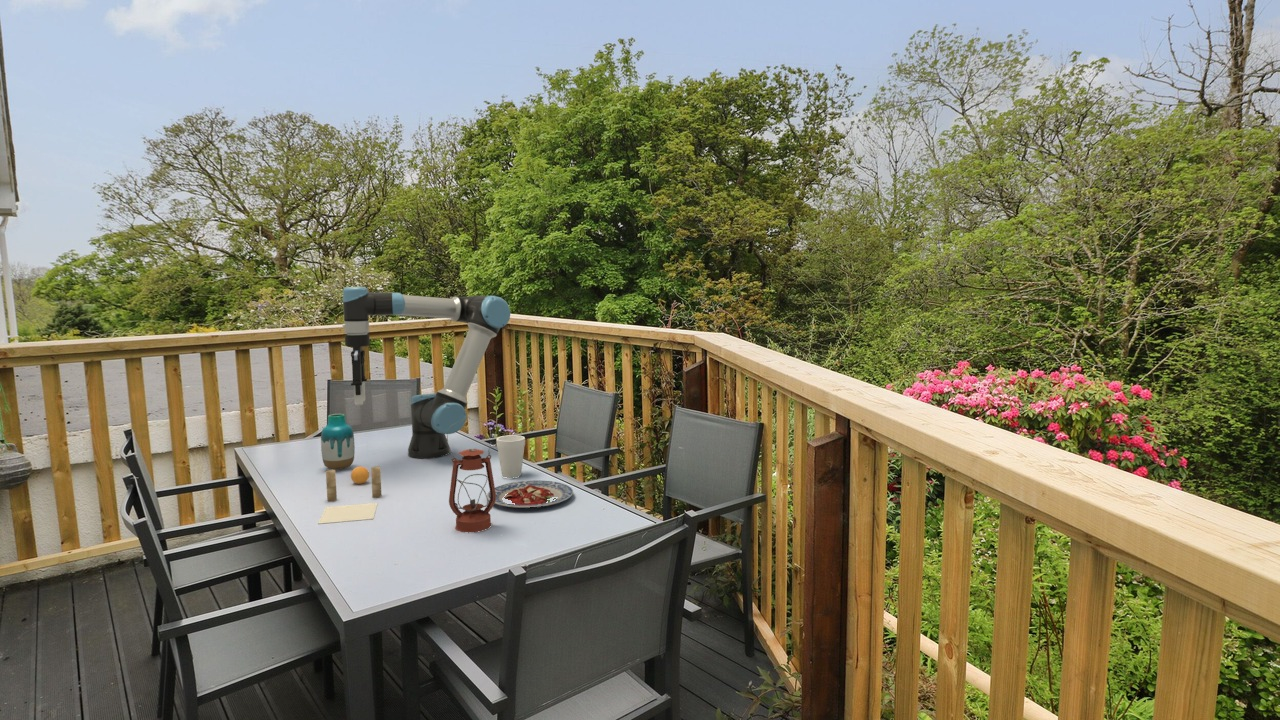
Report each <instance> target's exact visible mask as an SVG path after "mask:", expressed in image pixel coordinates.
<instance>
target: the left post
mask: <svg viewBox="0 0 1280 720" xmlns="http://www.w3.org/2000/svg"><path fill="white" fill-rule="evenodd" d="M336 473H337V472H336V470H332V469H328V470H326V471H325V478H326V479H325V482H326V496H327V497H326V499H327V500H326V501H327V502H336V501H337V500H338V496H337V495H338V494H337V493H338V492H337V475H336Z"/></svg>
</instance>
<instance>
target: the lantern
mask: <svg viewBox="0 0 1280 720" xmlns="http://www.w3.org/2000/svg"><path fill="white" fill-rule="evenodd" d="M464 419H465V418H464ZM464 419H463V420H464ZM468 419H469V420H471V421H476V422H478V420H477V419H476V420H475V419H473V418H470V417H468ZM463 420H462V421H463ZM460 422H461V421H460ZM480 422H481V423H485V424H487V425H488V427H489V428H491V427H490V424H489V423H488V422H485V421H482V420H479V423H480ZM457 423H458V422H457ZM455 424H456V423H455ZM453 425H454V424H453ZM451 426H452V425H451ZM451 426H450V427H451ZM449 429H450V428H449ZM448 431H449V430H448ZM491 431H492V430H491V429H489V435H490V437H492V433H491ZM448 435H449V434H448V433H447V434H446V438H447V442H448V446H449V448H450V454H451V456H452V458H451V462H452V463H453V464H452V472H451V479H450V489H449V496H448V504H449V507H450V509H451V511H452V513H453V514H455V515H456V517H455V527H454V529H455V530H456V531H457V532H460V533H465V532H468V534H469V532H474V533H479V532H478V531H480V532H483V531H482V530H484V531H486V530H485V529H487V530H488V528H489V527H490V526H491V524H492V522H491V514H490V513H489V512H491V510H492V508H493V507H494V505H495V501H496V492H495V486H496V485H495V481H494V474H493V469H492V463H491V459H492V455H491V454H490V449H491V446H492V443H490V445H489V447H488V451H487V452H488V454H487V455H486V457H482V456H481V455H483V454H484V453H485V451H484V450H483V449H476V448H469V449H465V450H462V451H459V452H458V455H460V456H462V458H461V459H457V458H456V457H455V456H454V455H453V452H452V450H451V447H450V444H449V440H448ZM484 464H485V465H484ZM484 468H486V471H485V472H486V474H483V473H476V474H474V473H473V474H470V475H468V476H467V477H465V478H464V479H463V480H460V479H458V474H459V469H460V470H462V471H478V470H482V469H484ZM473 476H483V477H486V478H487V479H486V480H485V483H484V485H483V486H481V485H480V484H478V483H473V482H467V481H466V480H467V479H468V478H469V477H473ZM457 482H459V483H460V484H461V485H460V487H459V490H458V494H457V503H456V499H455V498H456V497H455V496H456V488H457ZM487 483H488V487H489V491H490V501H489V500H488V498H487V493H486V491H485V489H484V488H485V486H486V484H487ZM464 484H469V485H475V486H478V487H479V488H480V489H481V491H480V493H479V496H478V499H477V502H476V499H475V498H474V499H472V498H471V497H470V494H469V493H468V490H467V487H466V486H465V485H464ZM462 487H463V488H464V489H465V491H466V494H467V497H468V498H469V503H467V504H465V505H464V504H463V506H461V505H460V503H459V496H460V493H461V492H460V491H461V489H462ZM483 492H484V495H485V498H486V501H487V502H486V505H484V504H482V503H479V501H480V498H481V496H482V495H481V494H482V493H483ZM483 508H485V509H483ZM460 509H461V510H463V512H462V511H461V510H460ZM491 527H492V526H491ZM491 527H490V528H491ZM490 528H489V529H490Z"/></svg>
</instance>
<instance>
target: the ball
mask: <svg viewBox="0 0 1280 720" xmlns="http://www.w3.org/2000/svg"><path fill="white" fill-rule="evenodd" d="M369 477H370V471H369V470H368V469H367V468H366V467H364V466H356V467H355V468H353V470H352V471H351V473H350V479H351V481H352V482H353V483H355V484H359V485H360V484H364V483H366V482H367V481H369V479H370V478H369Z"/></svg>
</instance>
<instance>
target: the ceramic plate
mask: <svg viewBox="0 0 1280 720" xmlns="http://www.w3.org/2000/svg"><path fill="white" fill-rule="evenodd" d="M495 492H496V501H495V503H494V505H498V506H502V507H509V508H518V509H531V508H530V507H537V508H542V507H541V506H543V507H545V506H546V507H548V506H552V505H556V504H560V503H562V502H565V501H566V500H568V499H570V498H571V497H572V496H573V494H574V489H573V488H572V487H571V486H569V485H567V484H566V483H562V482H557V481H552V480H543V479H542V480H541V479H540V480H536V479H535V480H531V479H530V480H521V481H514V482H508V483H504V484H500V485H498V486H496V487H495ZM507 493H508V494H507ZM505 494H507V495H506V496H505ZM486 495H487V498H488V502H489V501H490V490H489V491H487V493H486ZM504 496H505V497H504ZM503 497H504V498H505V499H508V500H511V501H512V503H515V505H514V504H507V503H505V502H503V500H502V498H503ZM552 497H558V498H557V499H556V498H554V499H556V500H555V501H552V502H550V500H547V499H550V498H552ZM487 498H486V499H487ZM554 499H553V500H554ZM547 501H548V503H546V502H547Z"/></svg>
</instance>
